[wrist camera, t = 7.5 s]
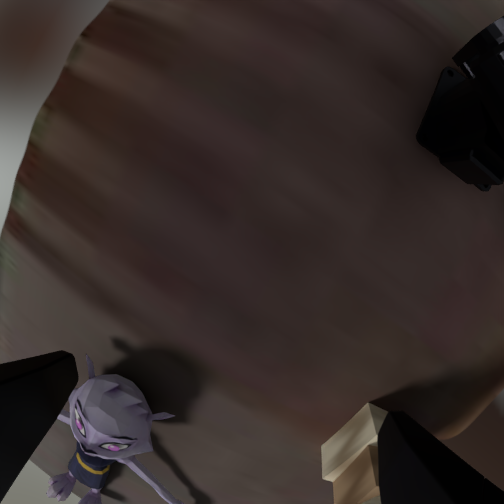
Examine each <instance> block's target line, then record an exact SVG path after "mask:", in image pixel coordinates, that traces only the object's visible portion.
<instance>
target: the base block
mask: <svg viewBox="0 0 504 504" xmlns="http://www.w3.org/2000/svg"><path fill="white" fill-rule="evenodd" d="M387 413H388V412H387V411H385V410H383V409H381V408H379V407H377V406H375V405H373V404H371V403H367V404H366V405H365V406H364V407H363V408H362V409H361V410H360V411H359V412H358V413H357V414H356V415H355V416H354V417H353V418H352V419H351V420H350V421H348V422H347V423H346V424H345V425H344V426H343V427H342V428H341V429H340V430H339V431H338V432H337V433H335V434H334V435H333V436H332V437H331V438H330V439H329V440H328V441H326V442H325V443H324V444H323V445H322V446H321V449H322V479H325V480H328V481H331V482H333V481H334V480H335V479H336V478H337V477H338V476H339V475H340V474H341V473H342V472H343V471H344V470H345V469H346V468H347V467H348V466H349V465H350V464H351V463H352V462H353V461H354V460H355V459H356V458H357V457H358V455H359V454H360V453H361V452H362V451H363V450H364V449H365V448H366V446H367V445H372V446H378V445H377V437H378V432H379V430H380V428H381V426H382V424H383V421H384V419H385V417H386V415H387Z"/></svg>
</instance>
